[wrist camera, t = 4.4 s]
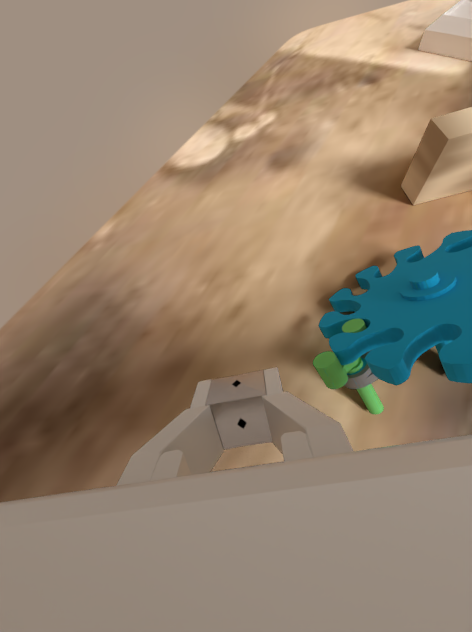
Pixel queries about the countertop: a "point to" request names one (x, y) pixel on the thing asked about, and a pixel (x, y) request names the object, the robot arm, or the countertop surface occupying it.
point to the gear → (402, 320)
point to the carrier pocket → (442, 159)
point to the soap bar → (451, 33)
